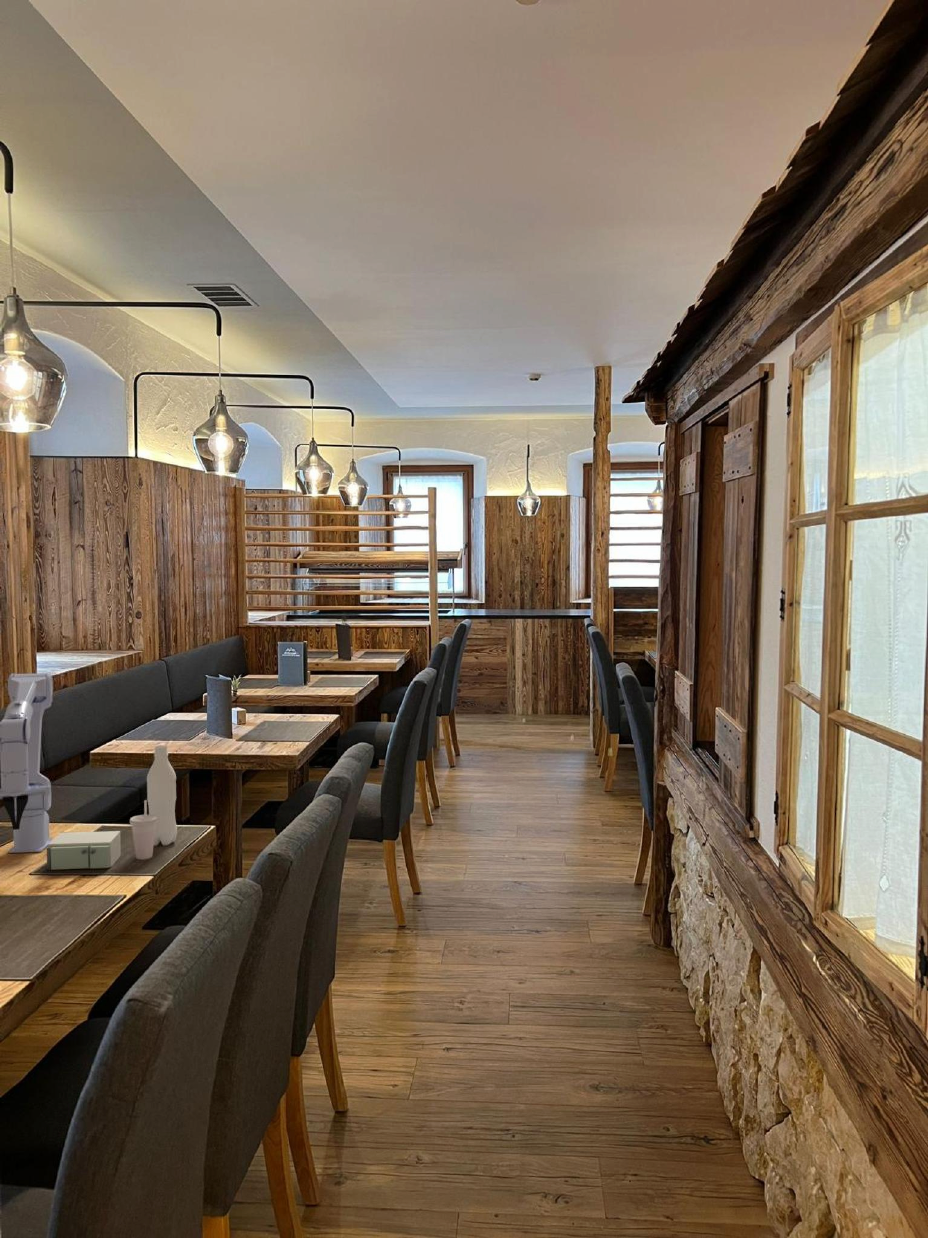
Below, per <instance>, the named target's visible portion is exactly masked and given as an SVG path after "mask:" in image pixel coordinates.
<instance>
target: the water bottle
mask: <svg viewBox="0 0 928 1238" xmlns="http://www.w3.org/2000/svg"><path fill="white" fill-rule="evenodd" d="M168 756H169V751H168V745H166V744H160V745H155V746H154V754H153V757H154V759H153V760H154V761H153V763H152V765H151V767H150V769H149V771H148V773H147V775H146V782H147V783H146V788H147V789H146V794H147V797H146V800H147V805H148V806H147V807H148V815H155V816H157V820H158V821H157V822H156V828H155V837H154V846H158V845H159V844H160V842H161V844H162V846H168V845H170V844H171V843H174V842H175V841H176V838H177V836H178V827H177V822H176V821H177V820H176V812H175V810H176V801H177V783H176V781H177V776H176V775H177V774H176V772H175V770H174V768H173V766H172V765H171V763H170V761H169V757H168Z"/></svg>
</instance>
